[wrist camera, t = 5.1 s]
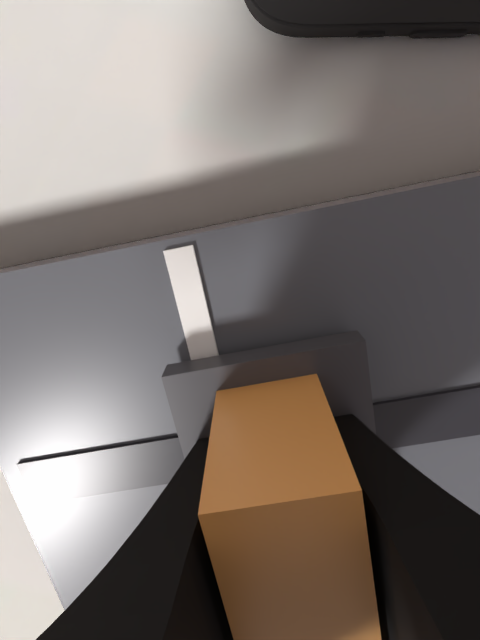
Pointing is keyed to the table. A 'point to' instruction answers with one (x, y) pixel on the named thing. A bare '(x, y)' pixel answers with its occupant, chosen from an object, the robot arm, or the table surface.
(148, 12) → the table surface
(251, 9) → the phone
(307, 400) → the fader
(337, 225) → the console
